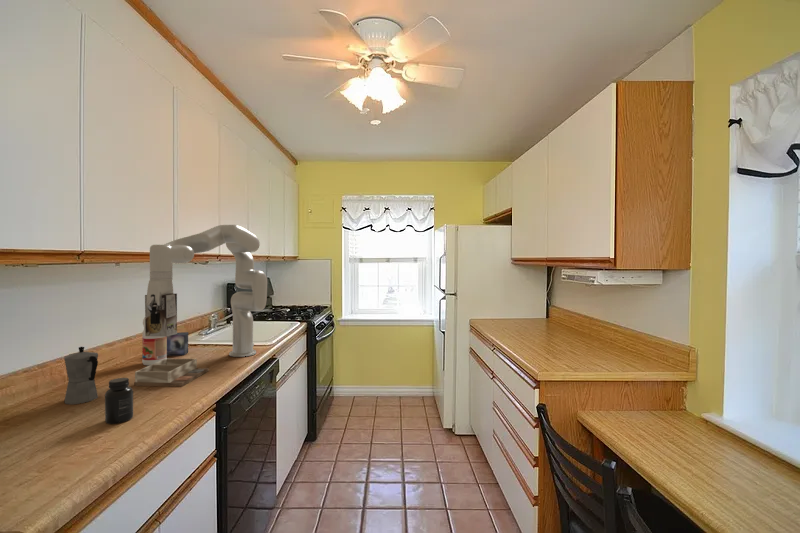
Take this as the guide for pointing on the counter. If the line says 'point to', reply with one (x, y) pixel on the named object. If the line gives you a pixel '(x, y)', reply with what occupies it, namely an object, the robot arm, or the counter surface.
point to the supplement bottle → (118, 401)
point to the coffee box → (163, 317)
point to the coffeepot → (81, 377)
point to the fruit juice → (153, 348)
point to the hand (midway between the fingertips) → (161, 321)
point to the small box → (177, 344)
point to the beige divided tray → (169, 373)
